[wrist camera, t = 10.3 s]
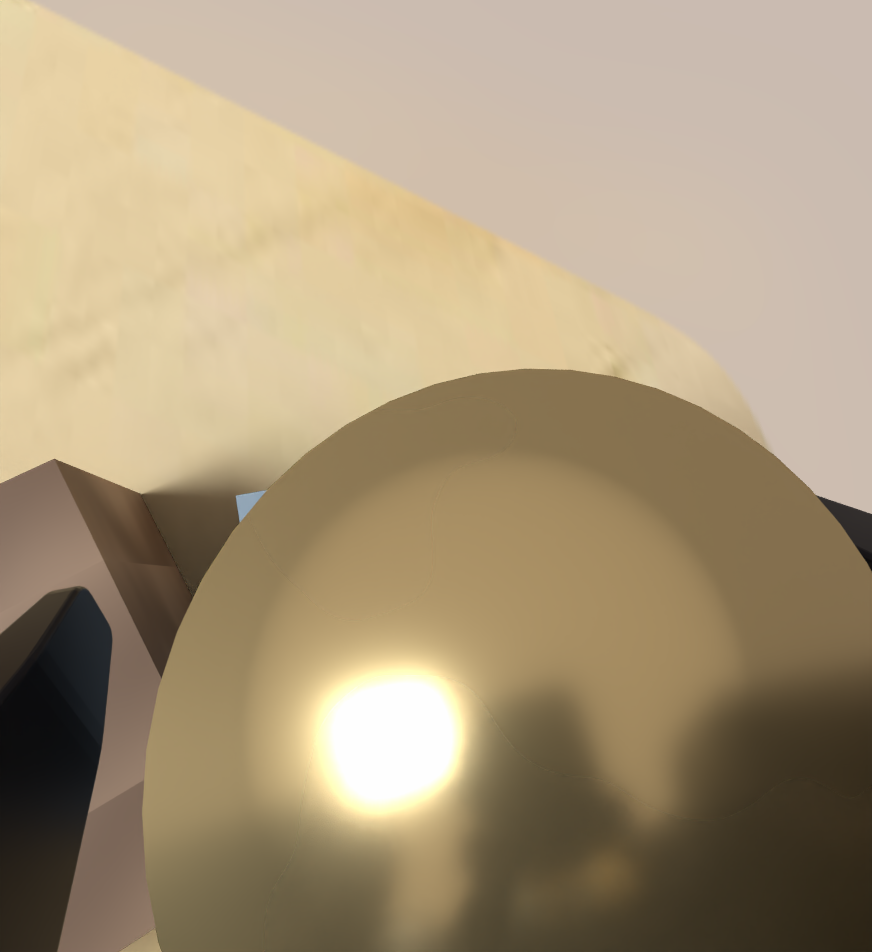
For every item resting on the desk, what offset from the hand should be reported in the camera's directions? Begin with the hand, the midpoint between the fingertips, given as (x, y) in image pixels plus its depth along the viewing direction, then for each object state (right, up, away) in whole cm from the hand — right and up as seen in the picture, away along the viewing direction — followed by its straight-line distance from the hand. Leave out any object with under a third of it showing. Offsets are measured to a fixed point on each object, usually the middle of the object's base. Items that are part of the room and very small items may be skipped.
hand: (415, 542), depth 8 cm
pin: (-1, -3, +8) cm, 9 cm away
